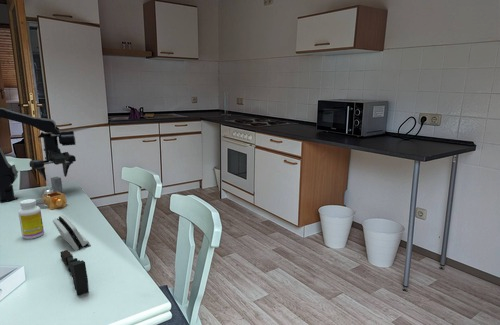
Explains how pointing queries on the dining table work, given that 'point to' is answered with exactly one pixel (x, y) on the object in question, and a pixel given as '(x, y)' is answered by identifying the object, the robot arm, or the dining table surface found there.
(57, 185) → the tall grey box
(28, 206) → the supplement bottle
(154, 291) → the dining table surface
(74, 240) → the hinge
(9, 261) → the dining table surface
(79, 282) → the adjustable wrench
